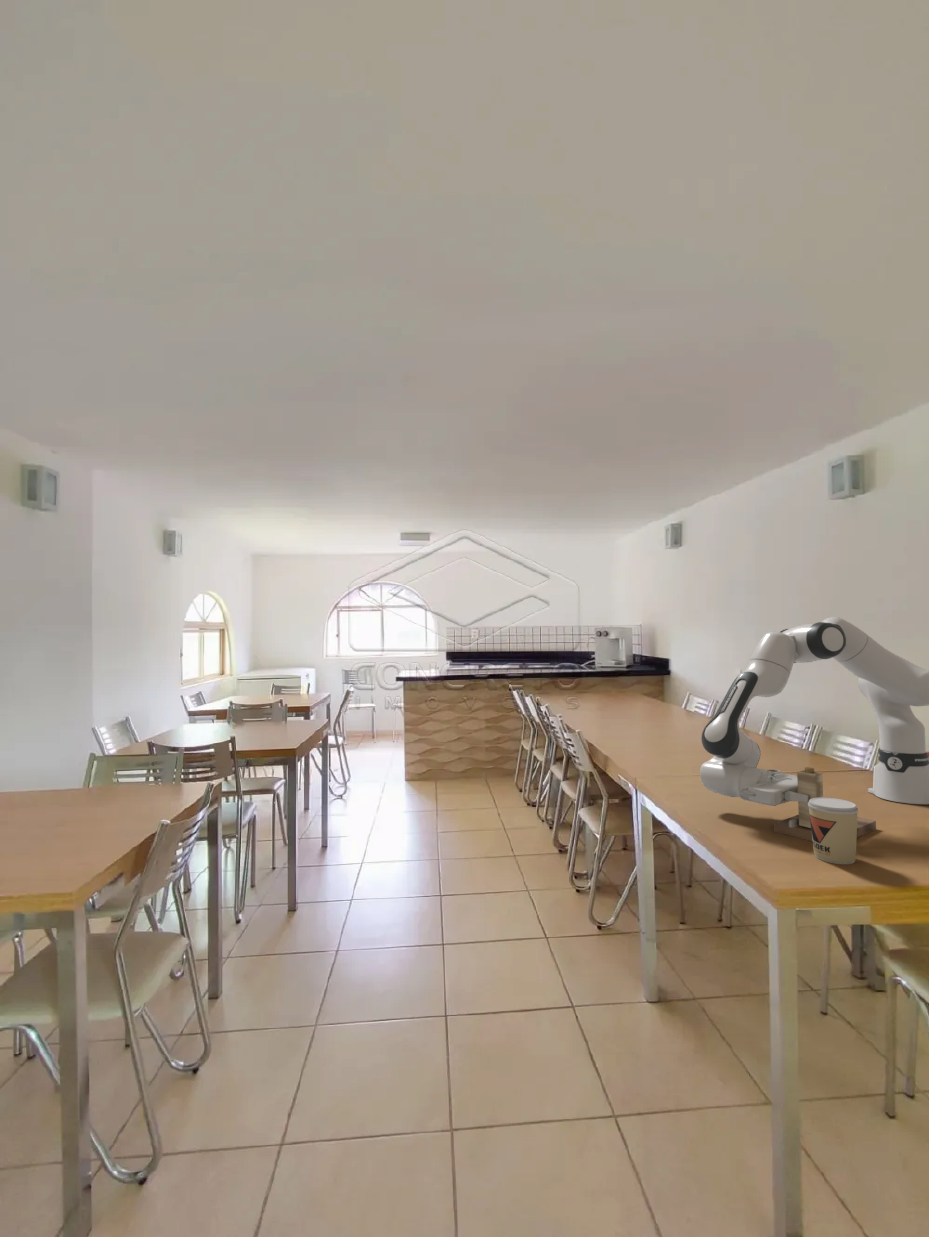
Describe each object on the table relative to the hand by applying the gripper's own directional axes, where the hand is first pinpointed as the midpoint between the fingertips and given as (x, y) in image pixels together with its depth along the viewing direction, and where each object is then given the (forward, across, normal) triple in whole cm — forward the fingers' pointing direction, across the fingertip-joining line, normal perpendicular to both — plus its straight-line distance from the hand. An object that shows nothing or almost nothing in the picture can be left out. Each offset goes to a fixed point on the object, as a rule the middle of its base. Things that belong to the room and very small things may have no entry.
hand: (814, 796), depth 142 cm
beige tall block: (0, 0, +7) cm, 7 cm away
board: (-1, +7, +10) cm, 12 cm away
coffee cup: (+9, -11, +10) cm, 18 cm away
